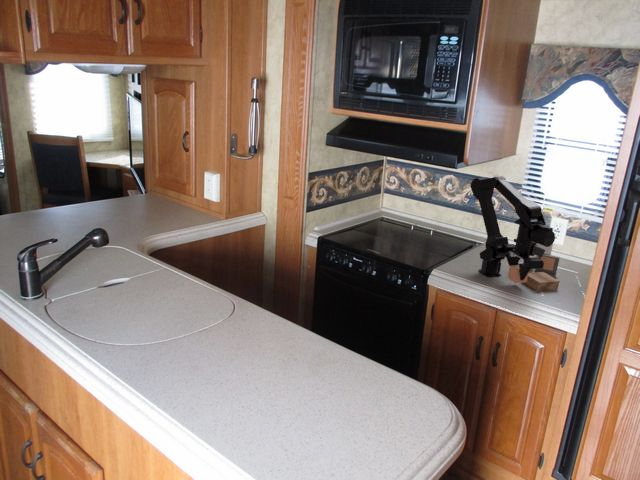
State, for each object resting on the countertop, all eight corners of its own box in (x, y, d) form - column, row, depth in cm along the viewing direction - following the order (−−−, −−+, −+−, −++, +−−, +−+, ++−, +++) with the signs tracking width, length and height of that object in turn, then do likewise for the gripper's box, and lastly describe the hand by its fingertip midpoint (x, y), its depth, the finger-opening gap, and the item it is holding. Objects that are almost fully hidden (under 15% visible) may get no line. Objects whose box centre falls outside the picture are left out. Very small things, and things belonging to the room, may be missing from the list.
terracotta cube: (515, 283, 204) (517, 270, 203) (507, 277, 209) (509, 265, 207) (526, 282, 206) (529, 269, 204) (518, 277, 210) (521, 264, 208)
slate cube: (520, 277, 217) (522, 266, 215) (512, 272, 221) (515, 261, 220) (531, 277, 218) (533, 265, 217) (523, 272, 223) (525, 260, 221)
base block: (536, 292, 205) (539, 282, 203) (522, 282, 213) (524, 273, 212) (557, 290, 207) (559, 281, 206) (541, 281, 215) (543, 272, 214)
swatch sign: (533, 274, 221) (537, 255, 219) (534, 270, 225) (538, 252, 223) (555, 278, 218) (559, 259, 216) (555, 274, 223) (559, 255, 220)
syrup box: (549, 266, 231) (556, 233, 227) (534, 264, 232) (540, 231, 228) (546, 261, 237) (553, 229, 232) (532, 259, 238) (538, 227, 233)
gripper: (560, 245, 196) (551, 286, 201) (528, 229, 212) (520, 267, 217) (534, 247, 192) (525, 288, 197) (503, 230, 209) (496, 268, 214)
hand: (517, 277), depth 207 cm, fingers closed on terracotta cube, 5 cm apart
